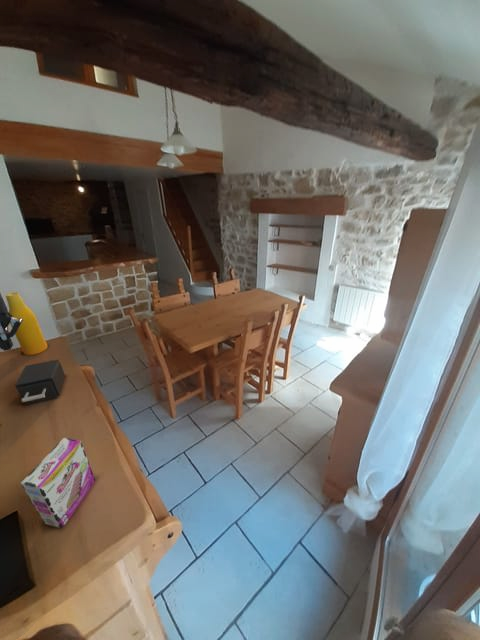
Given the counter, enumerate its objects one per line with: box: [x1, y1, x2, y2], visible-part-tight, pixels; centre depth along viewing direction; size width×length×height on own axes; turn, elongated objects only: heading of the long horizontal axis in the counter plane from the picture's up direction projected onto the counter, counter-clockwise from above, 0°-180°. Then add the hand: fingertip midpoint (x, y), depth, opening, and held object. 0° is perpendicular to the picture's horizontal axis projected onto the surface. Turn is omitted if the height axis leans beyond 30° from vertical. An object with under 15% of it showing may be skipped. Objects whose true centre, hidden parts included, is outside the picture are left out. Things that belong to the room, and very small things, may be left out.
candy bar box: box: [20, 437, 96, 529], centre depth 58 cm, size 11×5×16 cm, turn 169°
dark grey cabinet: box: [14, 359, 66, 397], centre depth 93 cm, size 12×11×10 cm
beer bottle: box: [5, 291, 48, 356], centre depth 112 cm, size 9×9×29 cm
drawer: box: [16, 380, 59, 407], centre depth 90 cm, size 15×9×8 cm, turn 23°
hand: (8, 348), depth 79 cm, fingers closed
